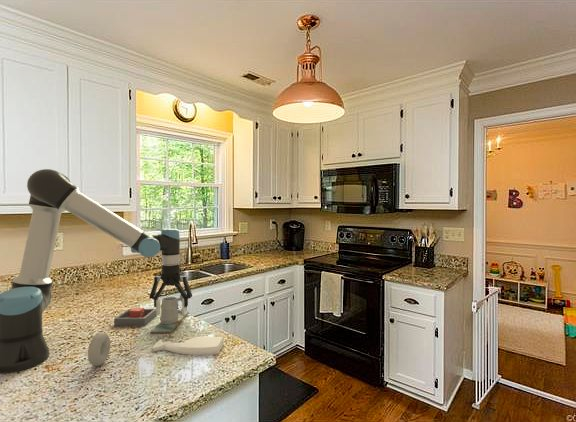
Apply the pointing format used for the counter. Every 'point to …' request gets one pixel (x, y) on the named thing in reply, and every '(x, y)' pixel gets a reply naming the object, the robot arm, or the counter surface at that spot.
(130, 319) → the tray
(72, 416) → the counter surface
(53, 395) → the counter surface
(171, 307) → the mug
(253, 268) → the counter surface
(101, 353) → the donut
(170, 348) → the beige tapered paddle
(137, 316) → the die
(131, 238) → the robot arm
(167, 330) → the board
